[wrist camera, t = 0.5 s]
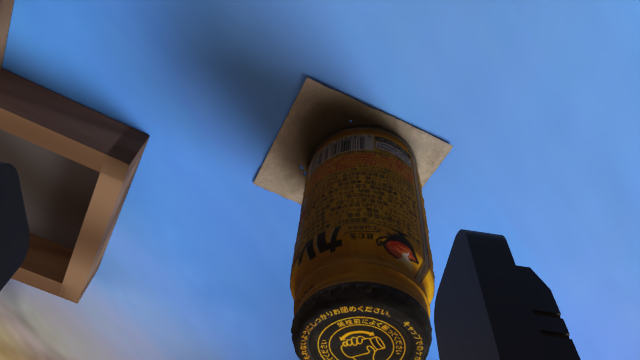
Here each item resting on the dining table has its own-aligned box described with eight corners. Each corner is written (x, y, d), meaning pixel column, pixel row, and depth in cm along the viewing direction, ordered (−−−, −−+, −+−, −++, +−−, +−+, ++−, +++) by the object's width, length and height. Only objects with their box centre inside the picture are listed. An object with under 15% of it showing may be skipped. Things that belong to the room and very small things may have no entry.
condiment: (384, 237, 32) (393, 424, 22) (253, 181, 31) (200, 355, 21) (452, 143, 28) (500, 317, 18) (307, 74, 27) (274, 223, 17)
